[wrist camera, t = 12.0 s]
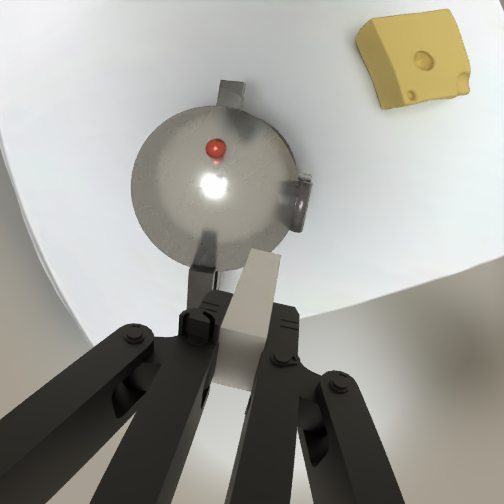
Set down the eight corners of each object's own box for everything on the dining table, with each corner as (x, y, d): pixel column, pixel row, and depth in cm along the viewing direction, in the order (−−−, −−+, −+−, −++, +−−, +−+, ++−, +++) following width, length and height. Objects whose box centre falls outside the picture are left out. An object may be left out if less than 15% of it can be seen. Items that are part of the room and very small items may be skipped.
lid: (141, 101, 27) (132, 100, 25) (322, 123, 28) (327, 123, 25) (137, 337, 39) (131, 348, 37) (269, 360, 40) (269, 372, 37)
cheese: (446, 99, 31) (484, 95, 22) (377, 113, 34) (401, 109, 25) (420, 28, 28) (451, 6, 19) (349, 39, 31) (364, 14, 22)
